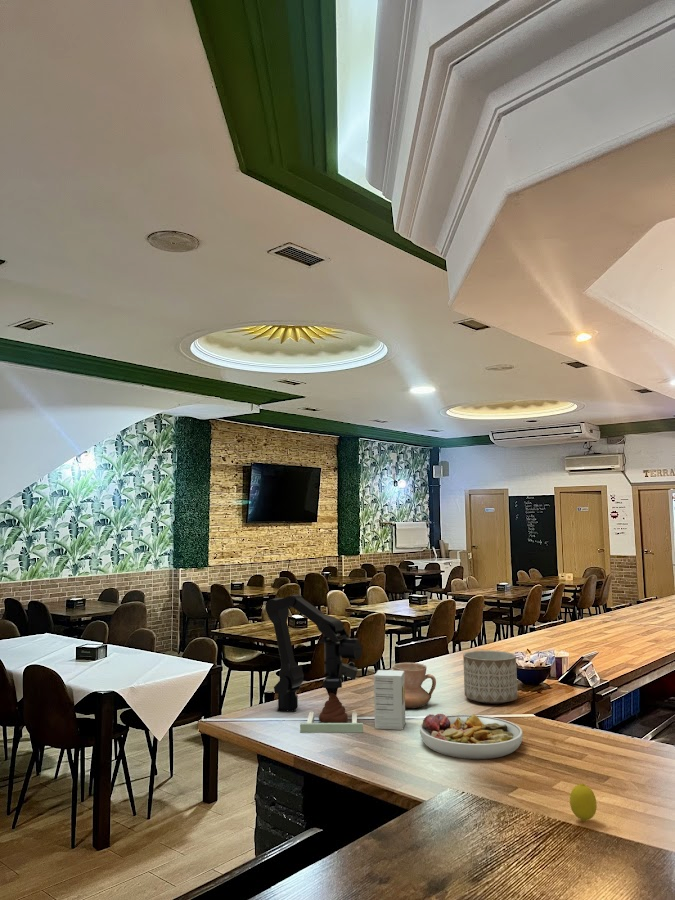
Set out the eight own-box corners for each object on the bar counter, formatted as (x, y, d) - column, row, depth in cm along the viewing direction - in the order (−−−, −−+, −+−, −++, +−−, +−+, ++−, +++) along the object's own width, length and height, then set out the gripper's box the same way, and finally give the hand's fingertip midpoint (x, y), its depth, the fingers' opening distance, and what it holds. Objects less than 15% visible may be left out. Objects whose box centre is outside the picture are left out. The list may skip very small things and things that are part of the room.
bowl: (526, 735, 211) (525, 709, 212) (518, 768, 183) (517, 737, 184) (431, 727, 221) (430, 702, 222) (409, 757, 193) (409, 728, 193)
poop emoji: (315, 723, 225) (314, 694, 226) (324, 716, 233) (323, 688, 234) (343, 726, 222) (343, 696, 223) (351, 719, 230) (351, 690, 231)
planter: (499, 692, 265) (498, 649, 267) (528, 704, 247) (526, 657, 249) (455, 696, 259) (454, 652, 261) (481, 709, 241) (479, 661, 243)
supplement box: (402, 730, 217) (401, 676, 218) (374, 729, 218) (373, 675, 220) (405, 722, 226) (404, 670, 228) (378, 720, 228) (377, 669, 230)
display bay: (300, 732, 216) (300, 724, 216) (303, 719, 230) (303, 712, 230) (363, 732, 215) (362, 724, 215) (362, 719, 229) (362, 711, 230)
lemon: (566, 817, 151) (564, 779, 152) (590, 815, 151) (588, 778, 152) (577, 827, 146) (575, 788, 146) (602, 826, 146) (600, 787, 147)
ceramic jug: (386, 710, 240) (386, 669, 242) (386, 699, 255) (386, 661, 256) (437, 712, 239) (437, 670, 240) (434, 701, 253) (434, 662, 255)
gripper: (356, 662, 225) (357, 710, 224) (356, 651, 244) (356, 696, 242) (322, 662, 226) (323, 711, 224) (325, 651, 244) (325, 696, 242)
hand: (333, 703), depth 233 cm, fingers closed
